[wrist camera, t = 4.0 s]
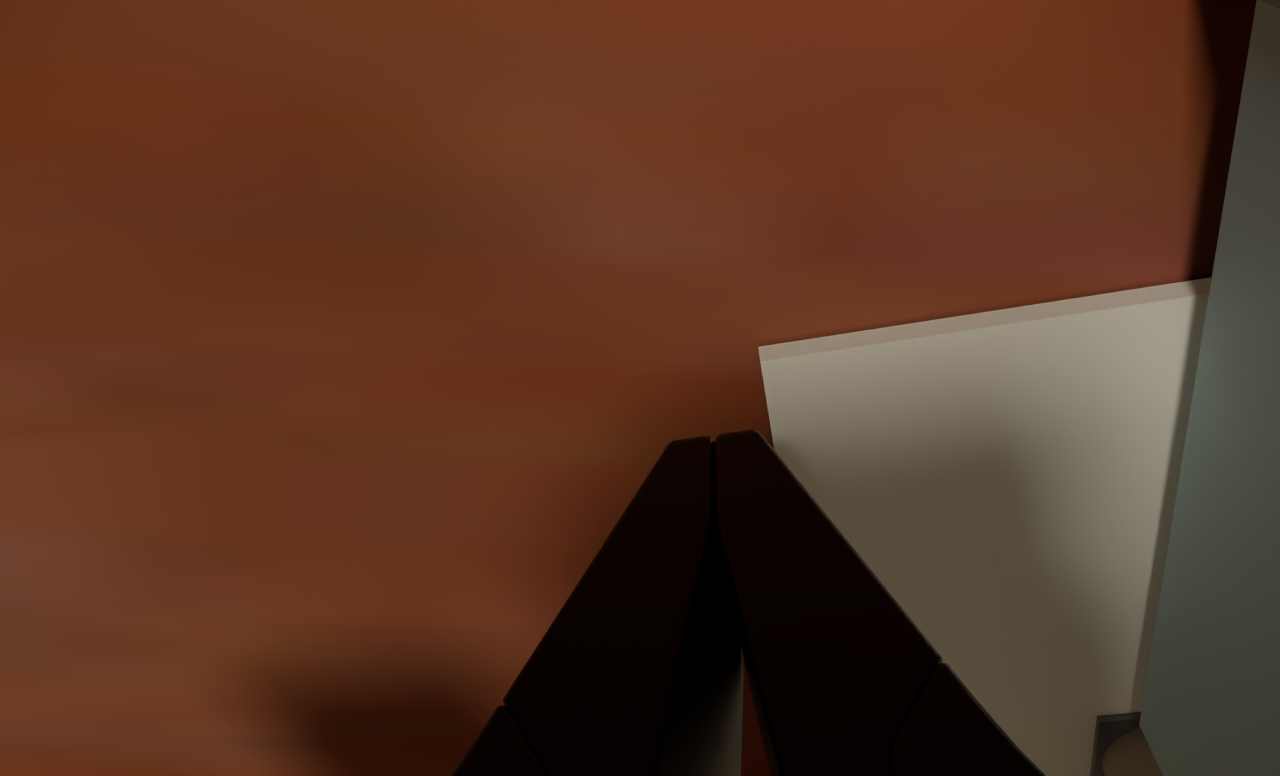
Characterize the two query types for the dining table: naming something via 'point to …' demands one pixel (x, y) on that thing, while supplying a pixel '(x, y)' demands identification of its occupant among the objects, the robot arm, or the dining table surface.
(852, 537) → the card
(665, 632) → the robot arm
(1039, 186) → the dining table surface
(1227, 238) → the fence flap
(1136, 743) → the fence fixed
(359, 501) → the dining table surface
